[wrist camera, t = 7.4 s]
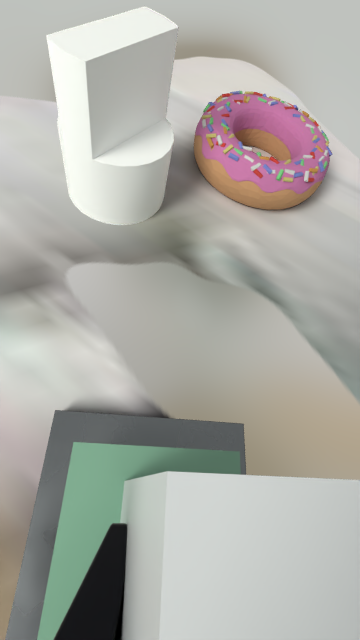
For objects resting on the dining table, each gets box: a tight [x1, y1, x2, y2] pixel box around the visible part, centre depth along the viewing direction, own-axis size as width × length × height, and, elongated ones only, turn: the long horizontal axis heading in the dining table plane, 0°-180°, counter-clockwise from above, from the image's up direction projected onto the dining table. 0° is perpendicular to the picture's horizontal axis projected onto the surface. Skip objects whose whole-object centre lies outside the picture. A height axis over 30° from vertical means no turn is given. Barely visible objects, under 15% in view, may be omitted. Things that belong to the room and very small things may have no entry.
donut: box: [194, 91, 332, 210], centre depth 33 cm, size 14×14×5 cm
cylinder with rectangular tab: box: [47, 6, 178, 225], centre depth 24 cm, size 9×9×12 cm
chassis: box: [5, 410, 246, 640], centre depth 16 cm, size 12×12×4 cm
